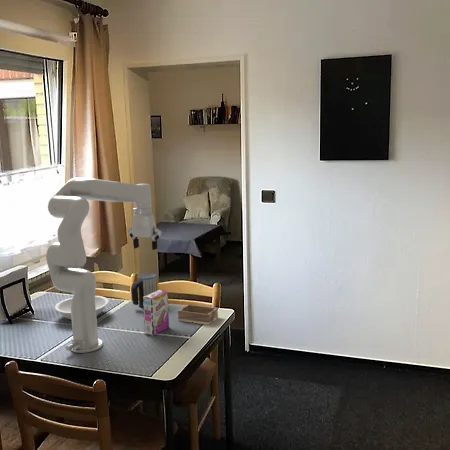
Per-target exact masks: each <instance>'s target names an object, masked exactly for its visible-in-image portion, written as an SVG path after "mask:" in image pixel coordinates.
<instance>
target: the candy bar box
mask: <svg viewBox="0 0 450 450" xmlns="http://www.w3.org/2000/svg"><path fill="white" fill-rule="evenodd" d="M168 293H169V292H168V290H164V289H163V290H162V289H158V290H156V291H155V292H153V293H151V294H149V295H146V296H144V297H143V308H142V309H143V326H144V327H143V328H144V335H148V336H152V337H154V336H156V335H157V334H160V333H161V332H163V331H164V330H167V329H168V328H170V321H169V320H170V318H169V315H170V314H169V298H168V297H169V296H168V295H169V294H168Z"/></svg>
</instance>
